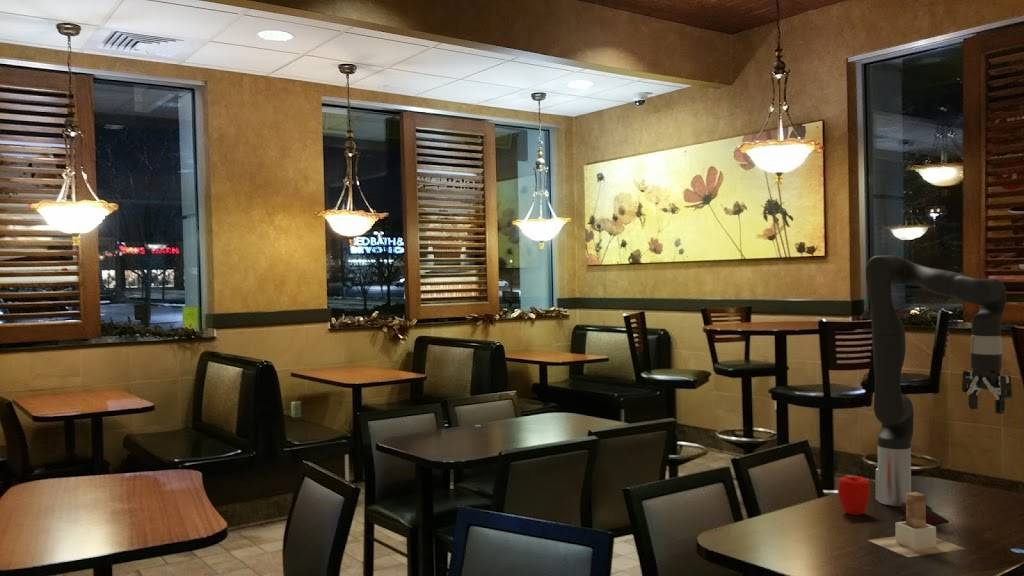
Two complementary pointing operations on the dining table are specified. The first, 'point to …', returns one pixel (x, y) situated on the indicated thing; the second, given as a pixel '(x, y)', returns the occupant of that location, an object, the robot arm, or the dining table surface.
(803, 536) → the dining table surface
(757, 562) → the dining table surface
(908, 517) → the square wooden post
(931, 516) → the icecream
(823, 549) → the dining table surface
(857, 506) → the apple
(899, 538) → the white square box
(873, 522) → the dining table surface
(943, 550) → the wooden board
